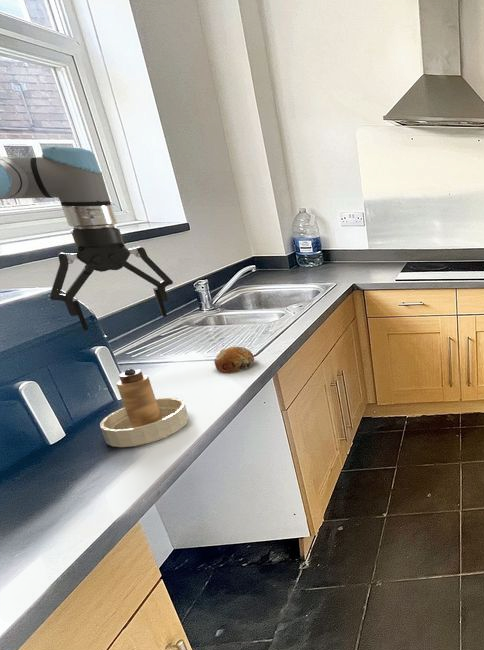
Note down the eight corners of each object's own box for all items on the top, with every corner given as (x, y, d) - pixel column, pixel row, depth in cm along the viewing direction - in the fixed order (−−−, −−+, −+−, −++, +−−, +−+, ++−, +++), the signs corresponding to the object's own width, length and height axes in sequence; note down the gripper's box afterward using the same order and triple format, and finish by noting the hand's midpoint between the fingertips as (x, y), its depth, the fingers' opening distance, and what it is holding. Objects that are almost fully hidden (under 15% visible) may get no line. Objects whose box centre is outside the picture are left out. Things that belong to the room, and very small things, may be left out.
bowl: (96, 456, 84) (88, 437, 82) (119, 423, 96) (113, 406, 94) (182, 438, 90) (177, 420, 88) (194, 409, 102) (189, 392, 100)
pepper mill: (130, 437, 89) (108, 376, 84) (137, 425, 94) (116, 367, 89) (161, 431, 92) (140, 371, 87) (166, 420, 96) (147, 362, 91)
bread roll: (255, 369, 132) (248, 345, 132) (258, 366, 124) (251, 340, 124) (218, 378, 126) (211, 353, 126) (219, 375, 118) (211, 348, 118)
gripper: (4, 232, 77) (48, 339, 84) (171, 223, 94) (196, 313, 101) (6, 230, 82) (48, 331, 89) (165, 222, 99) (189, 307, 106)
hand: (127, 321), depth 95 cm, fingers open, 13 cm apart
